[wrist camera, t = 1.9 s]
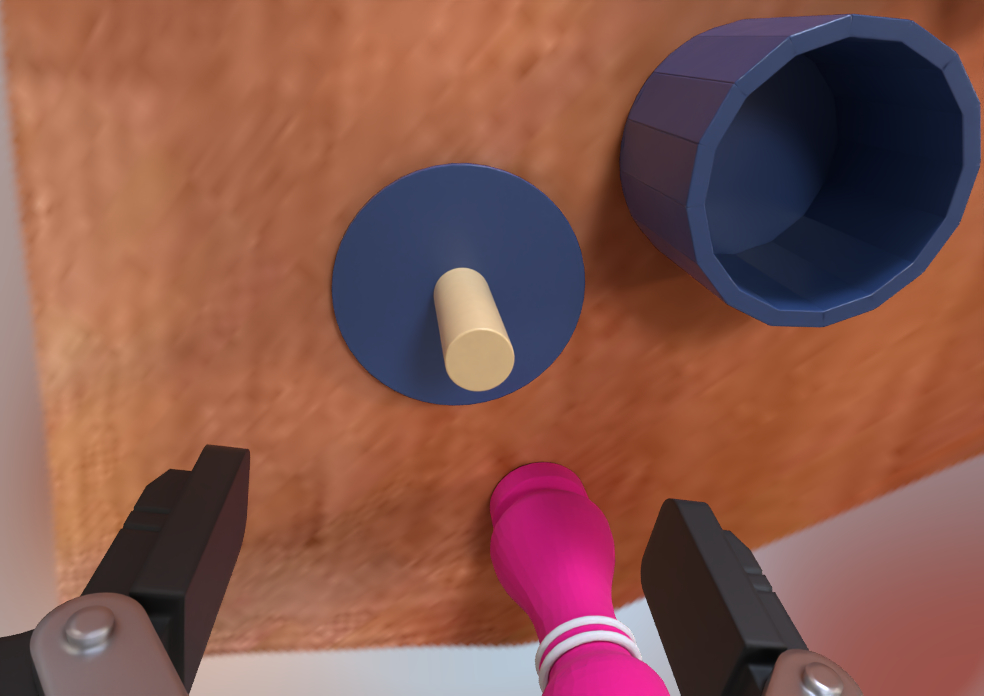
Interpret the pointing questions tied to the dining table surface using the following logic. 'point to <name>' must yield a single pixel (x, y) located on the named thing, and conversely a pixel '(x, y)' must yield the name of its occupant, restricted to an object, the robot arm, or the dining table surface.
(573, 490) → the pepper mill
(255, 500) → the dining table surface
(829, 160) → the can
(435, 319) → the lid
